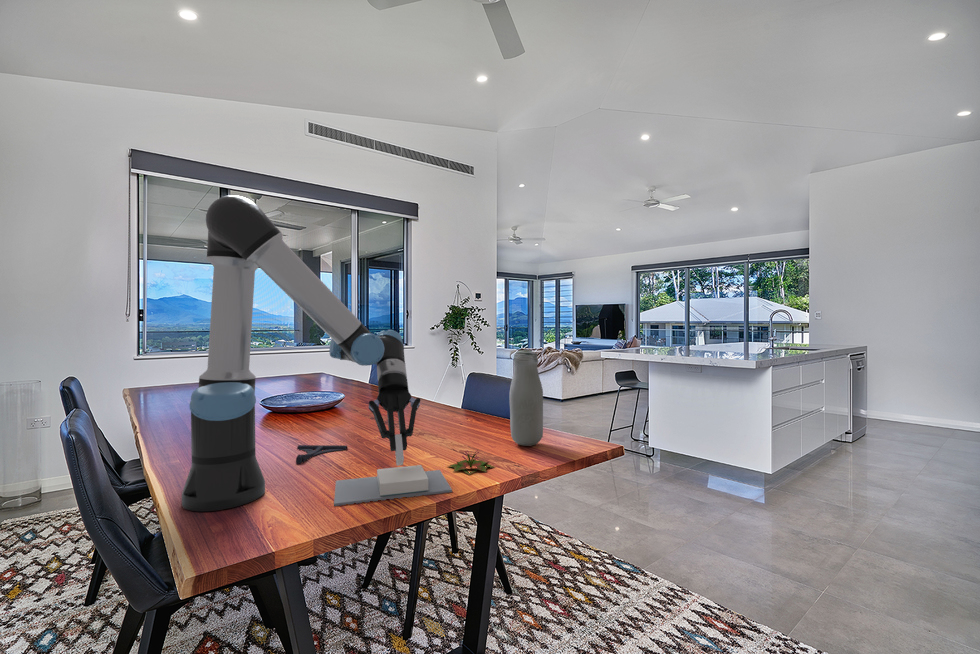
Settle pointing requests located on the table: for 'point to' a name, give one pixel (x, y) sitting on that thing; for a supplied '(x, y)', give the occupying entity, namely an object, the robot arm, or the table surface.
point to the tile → (402, 480)
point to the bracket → (317, 451)
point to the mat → (369, 489)
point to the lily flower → (470, 464)
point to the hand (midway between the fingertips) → (400, 462)
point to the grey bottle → (526, 400)
